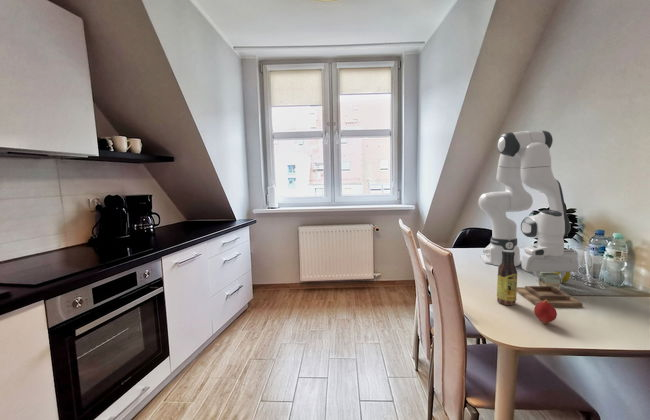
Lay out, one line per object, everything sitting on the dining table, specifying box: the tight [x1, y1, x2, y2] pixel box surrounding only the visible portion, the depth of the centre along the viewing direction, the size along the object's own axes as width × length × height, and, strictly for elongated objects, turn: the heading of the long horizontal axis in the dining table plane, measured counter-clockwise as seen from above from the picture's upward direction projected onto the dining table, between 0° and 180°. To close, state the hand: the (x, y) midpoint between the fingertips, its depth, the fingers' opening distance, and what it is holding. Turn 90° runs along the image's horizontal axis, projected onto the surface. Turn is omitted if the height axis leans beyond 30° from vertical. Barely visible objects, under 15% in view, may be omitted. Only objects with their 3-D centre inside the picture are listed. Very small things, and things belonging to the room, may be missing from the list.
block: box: [538, 272, 561, 290], centre depth 121 cm, size 5×5×6 cm
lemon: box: [554, 272, 571, 284], centre depth 125 cm, size 6×6×8 cm
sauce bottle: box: [496, 250, 518, 306], centre depth 108 cm, size 7×6×20 cm
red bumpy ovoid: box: [533, 300, 558, 325], centre depth 92 cm, size 6×6×8 cm
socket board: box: [517, 285, 583, 308], centre depth 110 cm, size 15×15×3 cm
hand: (548, 281), depth 121 cm, fingers open, 6 cm apart
